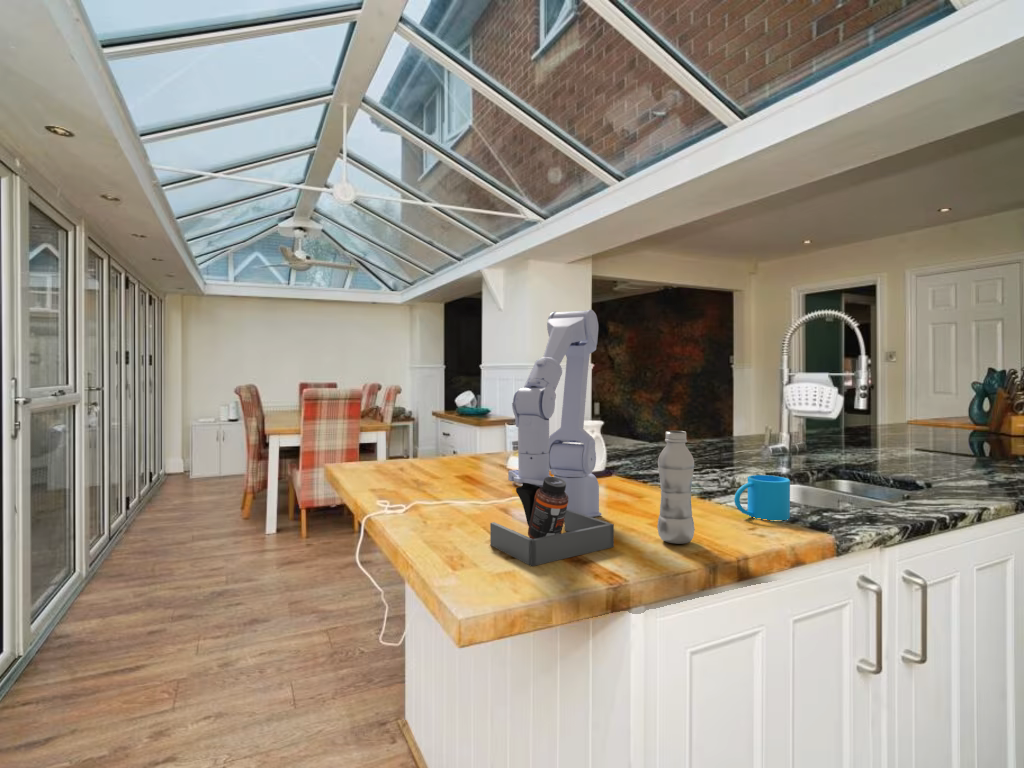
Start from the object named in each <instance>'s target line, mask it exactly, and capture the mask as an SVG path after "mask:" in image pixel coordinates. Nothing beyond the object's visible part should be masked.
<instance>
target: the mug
mask: <svg viewBox="0 0 1024 768" xmlns="http://www.w3.org/2000/svg"><path fill="white" fill-rule="evenodd" d="M746 489H747V510H746V509H744V507H743V505H741V501H740V499H741V495H742V494H743V492H744V491H745V490H746ZM733 499H734V505H735V507H736V509H737V510H738V511H739V512H741V513H742V514H743V515H747V516H748V515H749V516H751V517H755V518H761V519H767V520H787V519H789V518H791V480H790V479H789V478H788V477H784V476H783V477H782V476H777V475H770V474H769V475H768V474H767V475H765V474H755V475H754V474H753V475H749V476H747V483H744V484H743V485H741V486H740V487H739V488H738V489H737V490H736V492H735V494H734V498H733ZM749 516H748V517H749ZM751 517H750V518H751ZM789 520H790V519H789ZM787 521H788V520H787Z"/></svg>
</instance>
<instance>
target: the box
mask: <svg viewBox="0 0 1024 768" xmlns="http://www.w3.org/2000/svg"><path fill="white" fill-rule="evenodd" d="M614 526H615V525H614V524H613V523H611V522H608V521H606V520H602V519H598V518H596V517H590V516H587V515H584V514H581V513H578V512H574V511H571V510H568V509H567V510H566V514H565V520H564V531H566V532H561V534H556V535H551V536H546V537H541V538H536V539H532V538H529V536H527V535H525V534H522V533H520V532H517V530H516V531H515V530H513V529H511V528H508V527H506V526H504V525H501V524H499V523H497V522H495V521H494V522H490V530H489V531H490V532H489V533H490V535H489V536H490V537H489V538H490V546H491V547H493V548H495V549H498V550H499V551H501V552H503V553H505V554H507V555H509V556H511V557H513V558H515V559H517V560H519V561H521V562H522V563H524V564H526V565H528V566H530V567H534V566H539V565H543V564H547V563H552V562H555V561H556V562H557V561H560V560H564V559H569V558H573V557H577V556H581V555H585V554H590V553H594V552H598V551H599V552H600V551H603V550H606V549H611V548H614V547H615V545H614V543H615V542H614V541H615V540H614V539H615V538H614V537H615V527H614Z"/></svg>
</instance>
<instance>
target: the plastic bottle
mask: <svg viewBox="0 0 1024 768" xmlns="http://www.w3.org/2000/svg"><path fill="white" fill-rule="evenodd" d="M664 441H665V442H666V445H665V446H664V448H663V449H662V450H661V452H660V453H659V456H658V457H657V458H658V459H657V466H658V473H659V481H660V483H659V485H660V490H661V491H660V505H659V506H660V507H659V515H658V520H657V533H658V536H659V538H660V539H661V540H662V541H663V542H665V543H670V544H678V545H679V544H683V545H684V544H688V543H690V542H691V541H692V540H693V539H694V534H695V521H694V517H693V510H692V493H691V492H692V484H693V476H694V470H695V469H694V468H695V460H694V457H693V454H692V453H691V452H690V450H689V448H688V447H687V446H686V443H688V439H687V432H686V431H683V430H667V431H665V439H664Z"/></svg>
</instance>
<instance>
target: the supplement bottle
mask: <svg viewBox="0 0 1024 768" xmlns="http://www.w3.org/2000/svg"><path fill="white" fill-rule="evenodd" d="M559 481H561V482H562V483H561V484H552V483H551V482H553V483H555V482H559ZM565 488H566V482H565V481H564V480H562V479H560V478H557V477H554V476H551V477H546V478H545V479H544V482H543V487H540V488H539V489H538V490H537V491H536V494H535V498H534V503H533V508H532V513H531V518H530V523H529V526H528V530H527V535H528V536H527V537H529V538H532V539H536V538H541V537H546V536H551V535H556V534H561V533H563V531H562V530H563V527H564V524H565V520H564V518H565V514H566V509H567V504H568V495H567V494H566V493H565Z"/></svg>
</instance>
